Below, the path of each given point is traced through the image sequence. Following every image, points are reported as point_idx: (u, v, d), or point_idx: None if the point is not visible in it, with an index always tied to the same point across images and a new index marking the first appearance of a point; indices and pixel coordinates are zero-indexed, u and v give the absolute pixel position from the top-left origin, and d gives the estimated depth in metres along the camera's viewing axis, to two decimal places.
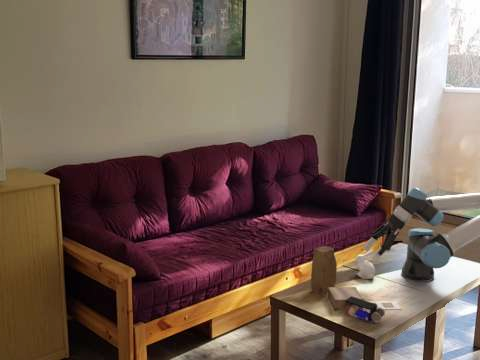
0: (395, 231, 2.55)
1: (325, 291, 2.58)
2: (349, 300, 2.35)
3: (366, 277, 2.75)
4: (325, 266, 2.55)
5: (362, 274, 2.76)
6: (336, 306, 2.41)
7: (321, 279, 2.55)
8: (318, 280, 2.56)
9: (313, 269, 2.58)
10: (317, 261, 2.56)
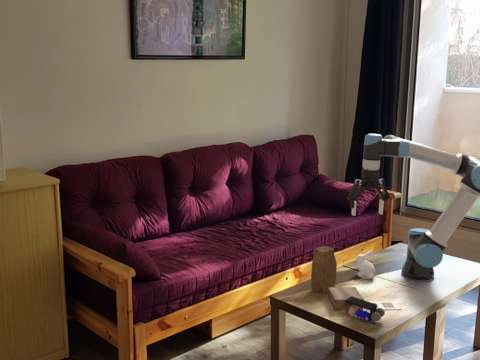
0: (355, 180, 2.61)
1: (325, 291, 2.58)
2: (349, 300, 2.35)
3: (366, 277, 2.75)
4: (325, 266, 2.55)
5: (362, 274, 2.76)
6: (336, 306, 2.41)
7: (321, 279, 2.55)
8: (318, 280, 2.56)
9: (313, 269, 2.58)
10: (317, 261, 2.56)
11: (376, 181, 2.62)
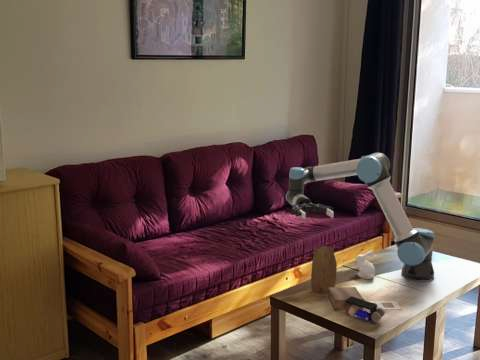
0: None
1: (325, 291, 2.58)
2: (349, 300, 2.35)
3: (366, 277, 2.75)
4: (325, 266, 2.55)
5: (362, 274, 2.76)
6: (336, 306, 2.41)
7: (321, 279, 2.55)
8: (318, 280, 2.56)
9: (313, 269, 2.58)
10: (317, 261, 2.56)
11: None
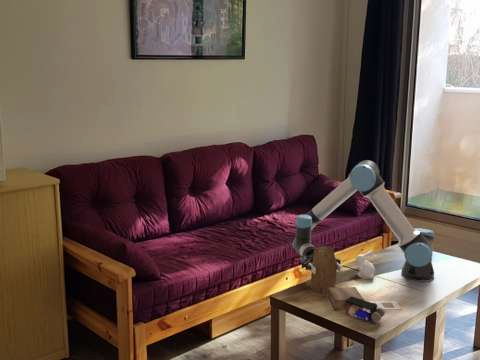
0: (300, 259, 2.70)
1: (325, 291, 2.58)
2: (349, 300, 2.35)
3: (366, 277, 2.75)
4: (326, 266, 2.55)
5: (362, 274, 2.76)
6: (336, 306, 2.41)
7: (321, 279, 2.55)
8: (318, 280, 2.56)
9: None
10: (317, 261, 2.56)
11: None
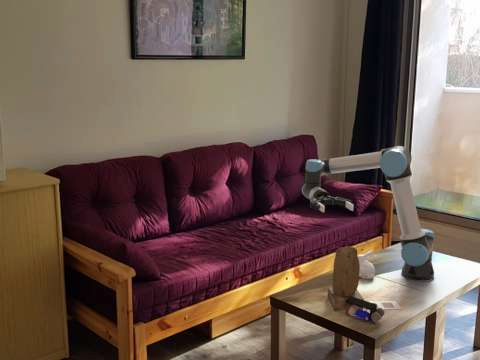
0: (310, 201, 2.67)
1: (348, 294, 2.42)
2: (349, 300, 2.35)
3: (366, 277, 2.75)
4: (348, 267, 2.40)
5: (362, 274, 2.76)
6: (336, 306, 2.41)
7: (343, 281, 2.40)
8: (340, 282, 2.41)
9: (335, 271, 2.43)
10: (339, 263, 2.40)
11: None
